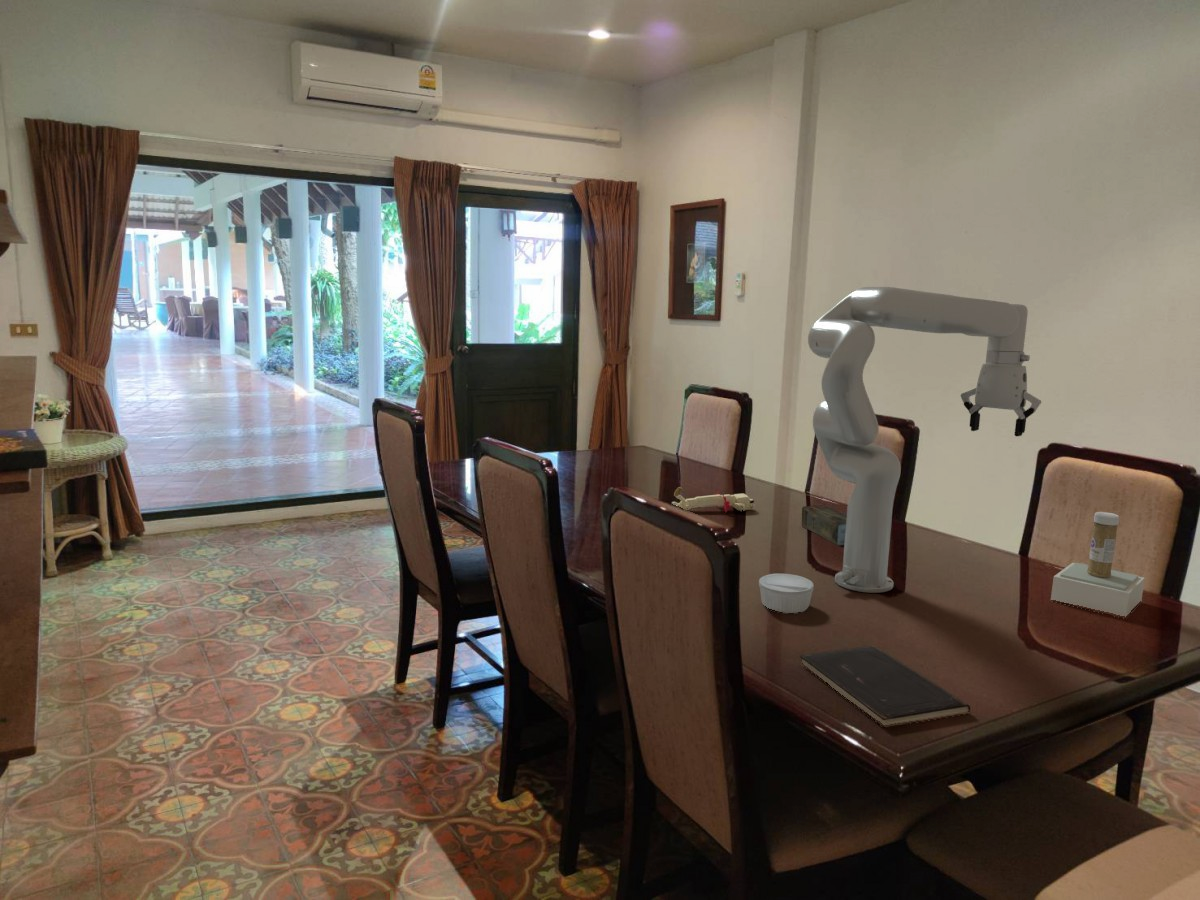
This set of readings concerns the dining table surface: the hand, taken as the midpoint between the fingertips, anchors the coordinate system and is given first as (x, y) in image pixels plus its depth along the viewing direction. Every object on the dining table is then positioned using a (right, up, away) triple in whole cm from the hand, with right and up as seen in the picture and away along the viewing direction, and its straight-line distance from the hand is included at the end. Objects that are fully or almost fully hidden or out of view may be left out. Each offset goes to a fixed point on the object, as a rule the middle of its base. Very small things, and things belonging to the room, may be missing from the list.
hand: (996, 433), depth 192 cm
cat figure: (-57, -23, +58) cm, 84 cm away
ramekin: (-53, -37, -20) cm, 67 cm away
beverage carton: (-29, -28, +34) cm, 53 cm away
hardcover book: (-46, -44, -56) cm, 84 cm away
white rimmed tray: (+15, -37, -13) cm, 42 cm away
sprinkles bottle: (+15, -31, -14) cm, 37 cm away
